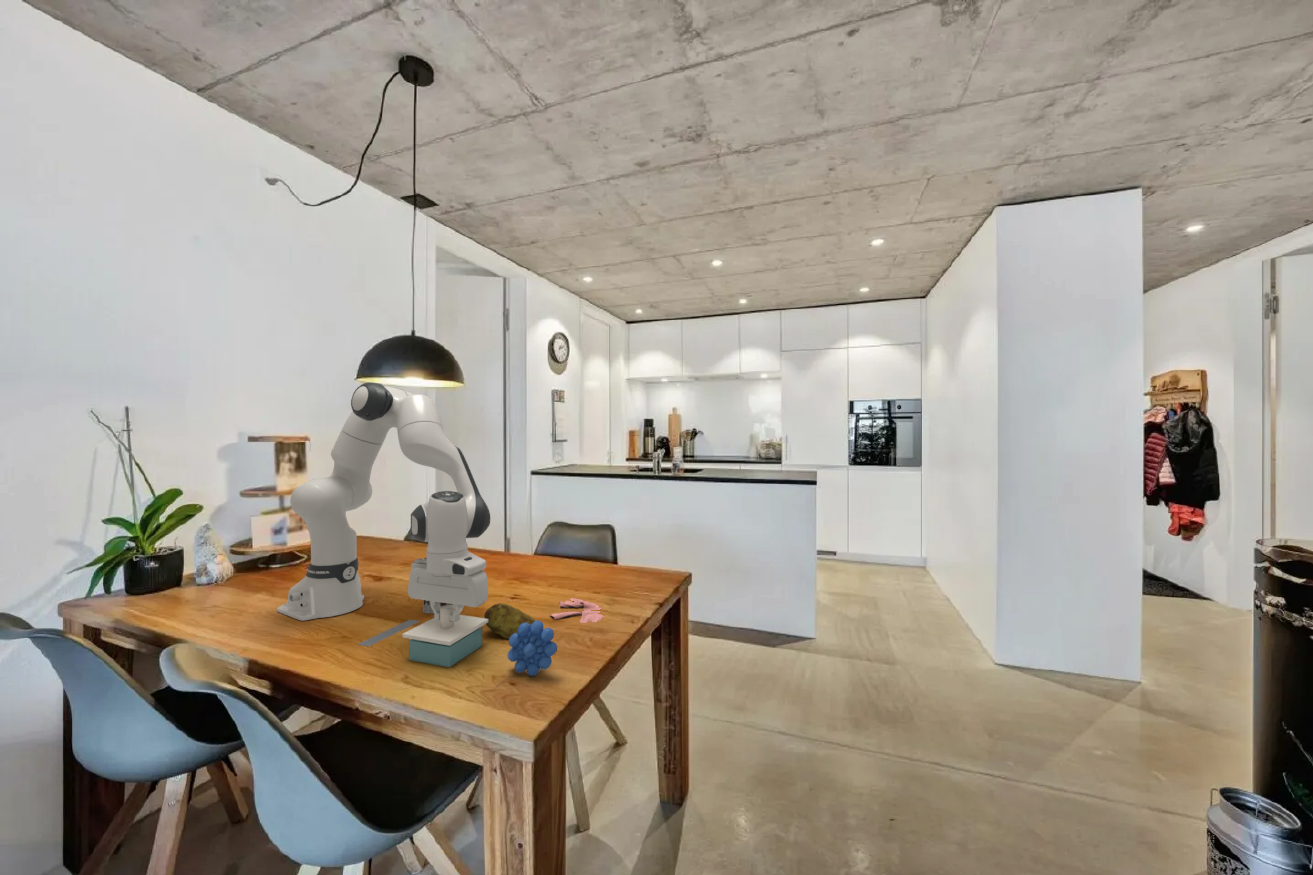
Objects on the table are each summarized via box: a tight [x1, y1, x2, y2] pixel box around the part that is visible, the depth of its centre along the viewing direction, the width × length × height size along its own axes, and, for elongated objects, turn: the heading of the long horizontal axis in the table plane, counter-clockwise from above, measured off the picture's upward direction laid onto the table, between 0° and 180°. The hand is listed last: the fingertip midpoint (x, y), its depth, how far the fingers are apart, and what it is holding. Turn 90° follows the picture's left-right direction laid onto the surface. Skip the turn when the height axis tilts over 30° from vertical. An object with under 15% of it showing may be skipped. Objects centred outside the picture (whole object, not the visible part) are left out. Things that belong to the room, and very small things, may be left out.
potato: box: [483, 603, 536, 640], centre depth 119 cm, size 8×13×8 cm, turn 67°
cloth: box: [549, 597, 605, 624], centre depth 137 cm, size 20×22×2 cm
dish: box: [408, 626, 483, 668], centre depth 109 cm, size 11×11×5 cm
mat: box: [356, 619, 421, 648], centre depth 118 cm, size 16×16×1 cm
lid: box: [402, 605, 488, 646], centre depth 109 cm, size 13×13×5 cm
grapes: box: [507, 619, 558, 677], centre depth 101 cm, size 12×7×12 cm, turn 75°
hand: (447, 620), depth 109 cm, fingers closed on lid, 3 cm apart
